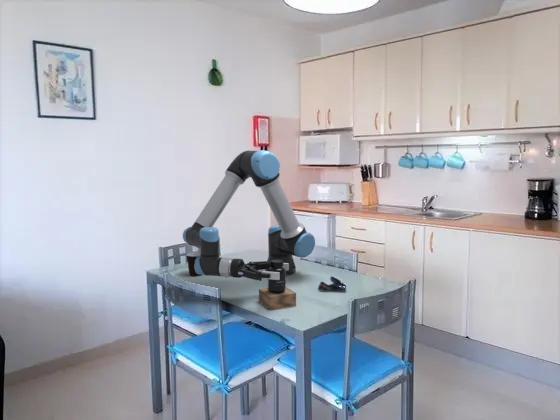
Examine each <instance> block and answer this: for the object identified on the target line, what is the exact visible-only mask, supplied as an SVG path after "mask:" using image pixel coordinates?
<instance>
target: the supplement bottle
mask: <svg viewBox="0 0 560 420" xmlns="http://www.w3.org/2000/svg"><path fill="white" fill-rule="evenodd" d="M268 272H280V280H272V279H267V288H268V291H269V292H271V293H283V292H284V291H285V286H286V278H287V277H286V276H287V275H286V270H285V268H284V267H283V261H282V260H272V261H271V267H270V268H269V270H268Z"/></svg>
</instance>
